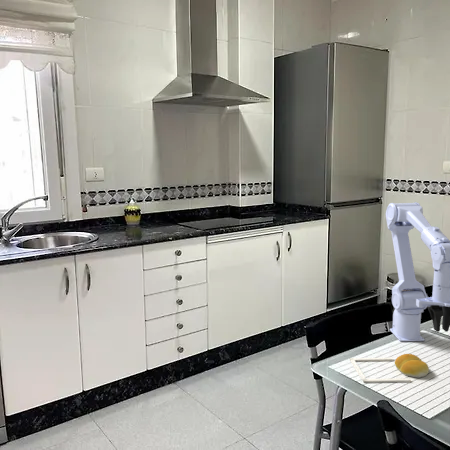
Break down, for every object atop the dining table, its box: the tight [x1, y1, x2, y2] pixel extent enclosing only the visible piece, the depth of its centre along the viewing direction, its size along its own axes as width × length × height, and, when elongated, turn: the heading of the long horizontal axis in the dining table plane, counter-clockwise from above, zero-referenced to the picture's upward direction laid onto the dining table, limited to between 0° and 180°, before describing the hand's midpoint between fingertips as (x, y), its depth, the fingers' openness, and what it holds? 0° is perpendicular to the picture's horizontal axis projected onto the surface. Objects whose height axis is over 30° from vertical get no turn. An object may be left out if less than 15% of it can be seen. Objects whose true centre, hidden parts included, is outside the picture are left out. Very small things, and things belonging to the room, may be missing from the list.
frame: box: [349, 357, 412, 384], centre depth 126 cm, size 13×12×1 cm
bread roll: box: [394, 353, 430, 378], centre depth 126 cm, size 8×9×4 cm
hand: (440, 330), depth 130 cm, fingers closed
